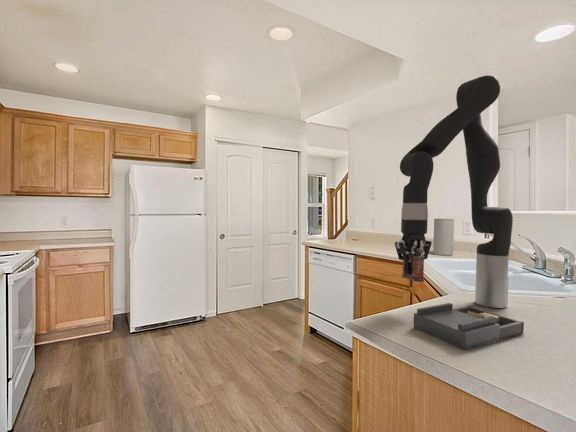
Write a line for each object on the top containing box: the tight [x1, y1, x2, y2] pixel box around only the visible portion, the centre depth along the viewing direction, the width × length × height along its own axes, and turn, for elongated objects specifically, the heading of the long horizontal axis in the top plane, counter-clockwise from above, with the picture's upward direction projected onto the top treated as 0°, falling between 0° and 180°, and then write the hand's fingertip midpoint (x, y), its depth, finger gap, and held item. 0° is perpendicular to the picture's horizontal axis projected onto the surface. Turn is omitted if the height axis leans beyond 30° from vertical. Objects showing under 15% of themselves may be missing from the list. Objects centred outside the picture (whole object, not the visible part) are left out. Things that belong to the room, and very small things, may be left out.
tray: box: [453, 305, 525, 341], centre depth 89 cm, size 10×15×3 cm
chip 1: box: [467, 311, 486, 319], centre depth 87 cm, size 4×4×2 cm
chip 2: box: [479, 312, 499, 324], centre depth 90 cm, size 4×4×2 cm
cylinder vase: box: [432, 218, 455, 257], centre depth 226 cm, size 12×12×25 cm
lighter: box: [401, 248, 426, 283], centre depth 100 cm, size 8×3×10 cm, turn 21°
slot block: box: [413, 302, 500, 351], centre depth 84 cm, size 13×15×6 cm
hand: (412, 273), depth 100 cm, fingers closed on lighter, 3 cm apart
